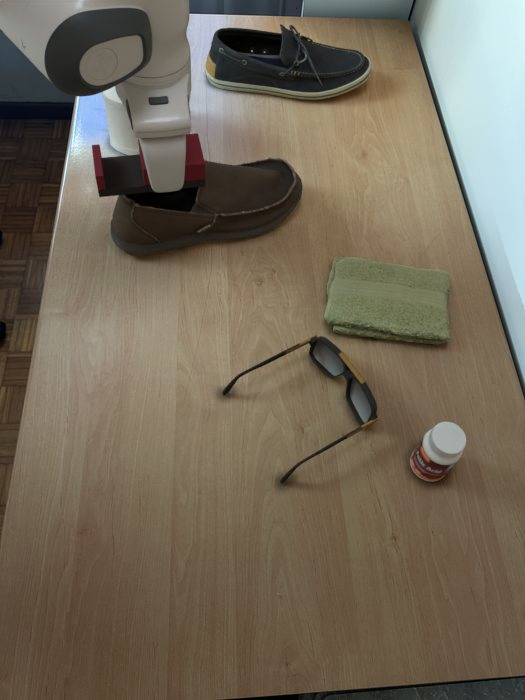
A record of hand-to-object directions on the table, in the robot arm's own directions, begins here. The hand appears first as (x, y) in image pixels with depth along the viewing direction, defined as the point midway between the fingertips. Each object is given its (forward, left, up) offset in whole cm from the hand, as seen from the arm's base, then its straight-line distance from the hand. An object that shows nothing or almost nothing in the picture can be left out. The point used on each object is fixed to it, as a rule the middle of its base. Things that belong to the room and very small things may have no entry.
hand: (160, 165), depth 88 cm
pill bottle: (+27, -43, -13) cm, 52 cm away
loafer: (+7, 0, -13) cm, 15 cm away
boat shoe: (+26, +31, -13) cm, 43 cm away
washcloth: (+29, -19, -13) cm, 37 cm away
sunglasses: (+13, -33, -13) cm, 37 cm away
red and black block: (-1, 0, -2) cm, 2 cm away
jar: (-1, +21, -13) cm, 25 cm away
